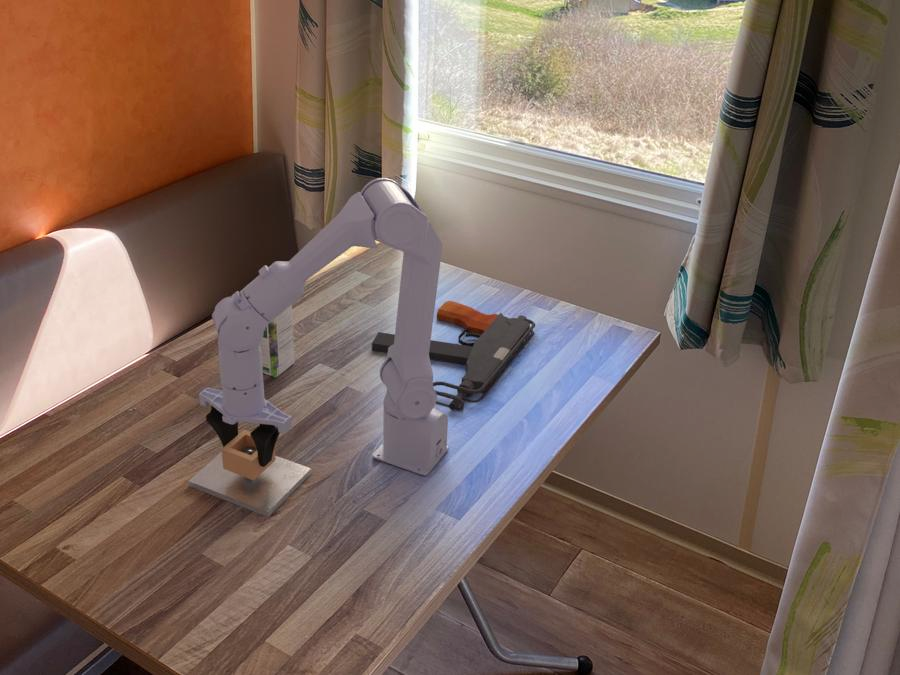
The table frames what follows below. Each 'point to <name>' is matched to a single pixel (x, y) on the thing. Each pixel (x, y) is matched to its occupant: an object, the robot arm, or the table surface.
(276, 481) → the plate
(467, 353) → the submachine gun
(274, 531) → the table surface
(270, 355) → the syrup box
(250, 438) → the ring
